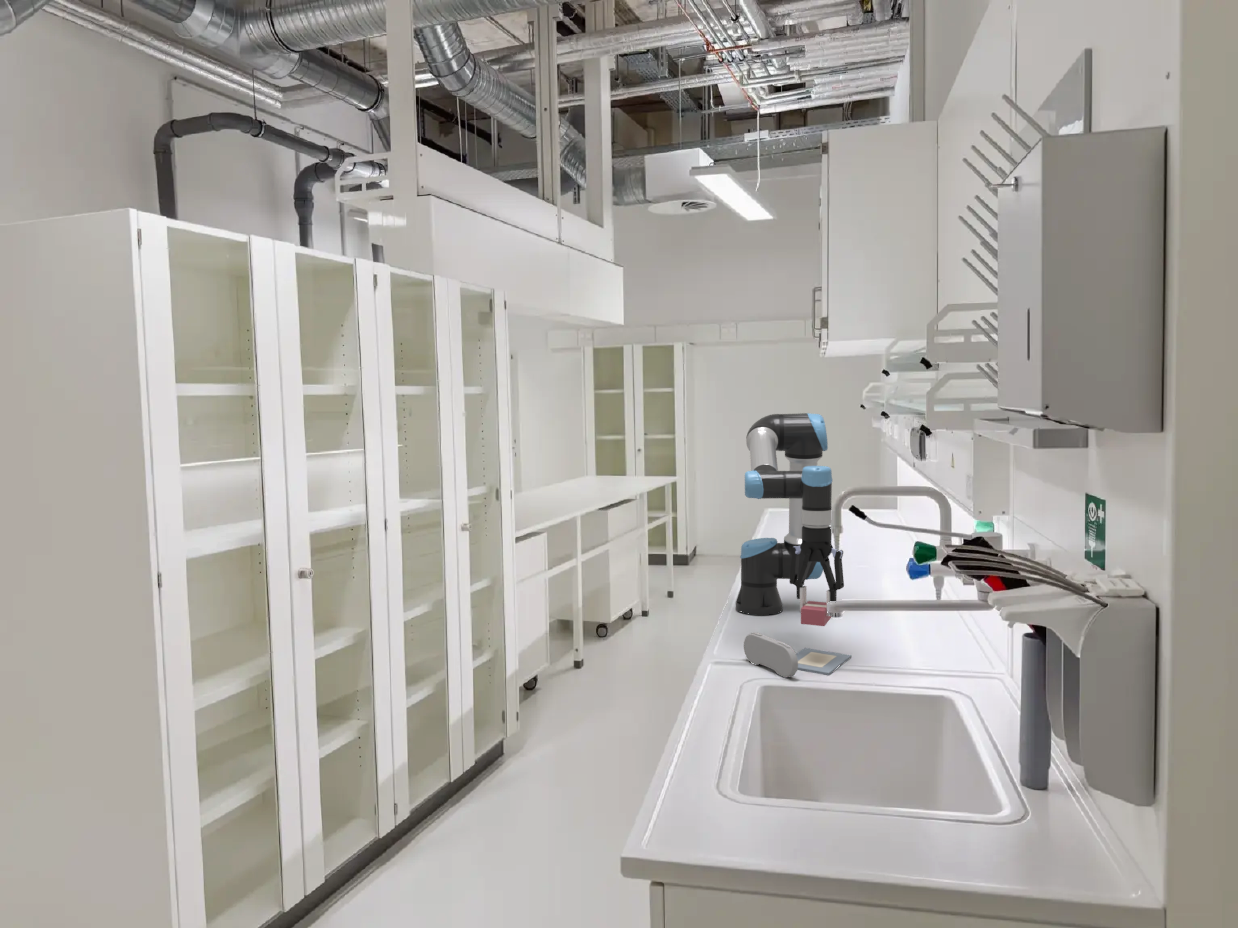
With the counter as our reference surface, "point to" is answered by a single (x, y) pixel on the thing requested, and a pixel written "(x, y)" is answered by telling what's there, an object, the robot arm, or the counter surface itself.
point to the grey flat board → (820, 660)
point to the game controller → (771, 654)
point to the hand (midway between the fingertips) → (816, 613)
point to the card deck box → (814, 613)
